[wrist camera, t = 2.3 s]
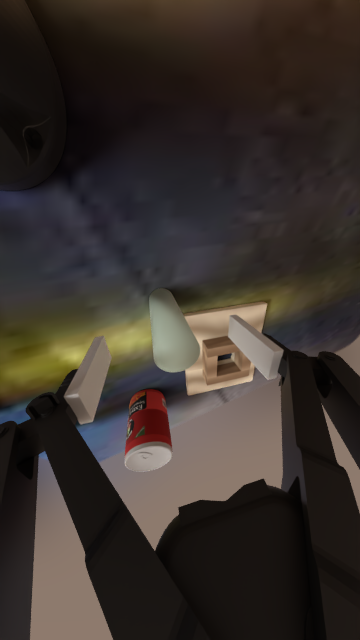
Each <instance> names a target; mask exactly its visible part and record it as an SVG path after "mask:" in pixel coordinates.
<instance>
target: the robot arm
mask: <svg viewBox="0 0 360 640" xmlns="http://www.w3.org/2000/svg"><path fill="white" fill-rule="evenodd" d="M66 131H67V118H66V108H65V101H64V96H63V91H62V87H61V83H60V79H59V76H58V73H57V70H56V67H55V64H54V61H53V59H52V56H51V53H50V51H49V49H48V47H47V44H46V42H45V40H44V38H43V36H42V34H41V32H40V30H39V28H38V26H37V24H36V22H35V20H34V18H33V16H32V14H31V11H30V9H29V7H28V5H27V3H26V1H25V0H0V190H6V191H16V190H24V189H28V188H31V187H34V186H36V185H38V184H40V183H42V182H43V181H45V180H46V179H47V178H48V177H49V176H50V175H51V174H52V173H53V171H54V170H55V169H56V167H57V166H58V164H59V162H60V160H61V157H62V154H63V151H64V147H65V142H66ZM228 337H229V338H230V339H231V340H232V341H233V343H234V344H235V345H236V346H237V347H238V348H239V349H240V350H241V351H242V352H243V354H244V355H245V356H246V357H247V358H248V359H249V360H250V361H251V362H252V363H253V364H254V366H255V367H256V368H257V369H258V370H259V371H260V372H261V373H262V374H263V375H264V376H265V378H266V379H267V380H269V379H273V378H276V377H277V373H279V374H280V375H282V376H281V379H280V382H279V386H280V385H281V412H282V451H283V478H282V485H281V489H279V488H276V487H273V486H269V485H267V484H266V482H265V481H264V479H261V480H258V481H255V482H252V483H249V484H246V485H244V486H243V487H241V489H239V490H238V491H237V492H236V493H235V494H233V495H232V496H231V497H230V498H229V499H228V500H226V501H209V500H199V501H196V502H193V503H190V504H187V505H184V506H181V507H179V515H178V516H177V517H175V518H174V519H173V520H172V522H171V523H170V524H169V525H168V527H167V528H166V529H165V531H164V533H163V535H162V536H161V538H160V540H159V543H158V545H157V547H156V550H155V551H154V549H153V548H152V546H151V545H150V543H149V542H148V540H147V538H146V537H145V535H144V534H143V532H142V531H141V529H140V527H139V526H138V524H137V523H136V521H135V520H134V518H133V516H132V515H131V513H130V512H129V510H128V509H127V507H126V505H125V504H124V503H123V501H122V499H121V498H120V496H119V494H118V493H117V491H116V490H115V488H114V487H113V485H112V483H111V482H110V481H109V479H108V477H107V476H106V474H105V472H104V471H103V469H102V468H101V466H100V465H99V463H98V461H97V460H96V458H95V457H94V455H93V454H92V452H91V450H90V449H89V447H88V446H87V444H86V442H85V441H84V439H83V438H82V436H81V435H80V433H79V431H78V430H77V428H76V427H75V424H76V421H77V419H78V421H79V423H80V424H84V423H89V422H93V419H94V416H95V412H96V409H97V405H98V402H99V399H100V395H101V392H102V389H103V385H104V382H105V378H106V375H107V372H108V368H109V365H110V362H111V355H110V352H109V350H108V347H107V344H106V341H105V338H104V336H100V337H95V339H94V341H93V343H92V345H91V346H90V348H89V350H88V352H87V354H86V356H85V358H84V359H83V361H82V363H81V365H80V367H79V369H75V370H72V371H71V372H70V373H69V374H68V375H67V376H66V377H65V379H64V381H63V382H62V384H61V387H59V389H58V391H57V392H56V394H54V393H52V392H48V393H44V394H42V395H40V396H38V397H36V398H35V399H33V400H32V401H31V402H30V403H29V404H28V406H27V407H26V413H27V414H28V415H29V416H30V418H31V419H29V420H27V421H25V422H23V423H21V424H18V425H17V423H16V422H14V421H8V422H5V423H2V424H1V425H0V640H30V622H31V603H32V601H31V600H32V581H33V561H34V539H35V519H36V499H37V477H38V457H39V454H40V453H42V452H44V451H45V452H46V454H47V457H48V459H49V462H50V464H51V467H52V469H53V472H54V474H55V477H56V479H57V482H58V485H59V487H60V490H61V492H62V495H63V497H64V500H65V502H66V505H67V507H68V510H69V512H70V515H71V517H72V520H73V523H74V525H75V528H76V530H77V533H78V535H79V538H80V540H81V543H82V545H83V548H84V551H85V563H86V568H87V571H88V574H89V577H90V579H91V582H92V584H93V587H94V590H95V592H96V595H97V598H98V600H99V603H100V606H101V608H102V611H103V613H104V616H105V619H106V621H107V624H108V627H109V629H110V632H111V635H112V637H113V640H360V513H359V510H358V506H357V503H356V500H355V496H354V493H353V490H352V486H351V483H350V480H349V477H348V474H347V472H346V470H345V469H344V468H343V467H342V466H340V465H339V464H338V463H337V460H336V457H335V453H334V449H333V446H332V442H331V438H330V434H329V431H328V427H327V423H326V419H325V416H324V412H323V408H322V405H323V406H324V408H325V410H326V412H327V414H328V415H329V417H330V419H331V421H332V422H333V424H334V426H335V428H336V429H337V431H338V433H339V434H340V436H341V438H342V439H343V441H344V443H345V445H346V447H347V448H348V450H349V452H350V454H351V455H352V457H353V459H354V460H355V462H356V464H357V466H358V467H359V469H360V376H359V375H358V374H357V373H355V371H354V370H353V369H352V368H351V367H350V366H349V365H348V364H347V363H346V362H345V361H344V360H343V359H342V358H341V357H340V356H338V355H336V354H334V353H331V352H326V351H322V352H319V355H318V357H308V356H307V355H306V354H304V353H302V352H299V351H291V350H289V349H288V348H286V347H285V346H284V345H282V344H281V343H280V342H278V341H277V340H275V339H274V338H273V337H271V336H269V335H267V334H265V333H264V334H262V333H260V332H259V331H258V330H256V329H255V328H254V327H252V326H251V325H250V324H248V323H247V322H246V321H244V320H243V319H242V318H240V317H239V316H238V315H236V314H235V315H230V317H229V331H228ZM321 403H322V404H321Z"/></svg>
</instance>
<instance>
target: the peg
mask: <svg viewBox="0 0 360 640" xmlns="http://www.w3.org/2000/svg"><path fill="white" fill-rule="evenodd" d="M149 307H150V319H151V331H152V343H153V355H154V361H155V363H156V365H157V366H158V367H159V368H160V369H162V370H164V371H167V372H180V371H183V370H186V369H188V368H190V367H191V366H192V365H193V364H194V363H195V362H196V361H197V360H198V358H199V355H200V345H199V343H198V341H197V339H196V337H195V336H194V334H193V332H192V330H191V328H190V326H189V325H188V323H187V321H186V319H185V317H184V315H183V313H182V312H181V310H180V308H179V306H178V304H177V302H176V300H175V299H174V297H173V295H172V293H171V292H170V291H169V290H167V289H164V288H159V289H156V290H154V291H153V292H152V293H151V294H150V297H149Z"/></svg>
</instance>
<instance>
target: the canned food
mask: <svg viewBox="0 0 360 640" xmlns="http://www.w3.org/2000/svg"><path fill="white" fill-rule="evenodd" d="M171 458H172V444H171V436H170V429H169V422H168V415H167V407H166V400H165V398H164V396H163V394H162V393H161V392H160V391H158V390H154V389H145V390H142V391H139V392H137V393H136V394H135V395H134V396H133V397H132V399H131V401H130V406H129V416H128V427H127V437H126V448H125V466H126V467H127V468H128V469H130V470H133V471H137V472H144V471H151V470H154V469H157V468H160V467H162V466H163V465H165V464H166V463H168V462H169V461H170V459H171Z"/></svg>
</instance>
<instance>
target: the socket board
mask: <svg viewBox="0 0 360 640" xmlns="http://www.w3.org/2000/svg"><path fill="white" fill-rule="evenodd" d="M266 307H267V303H265V302H263V301H262V302H256V303H249V304H243V305H236V306H230V307H223V308H217V309H211V310H204V311H198V312H191V313H185V314H183V315H184V317H185V319H186V321H187V323H188V325H189V326H190V328H191V330H192V332H193V334H194V336H195V337H196V339H197V341H198V343H199V345H200V355H199V358H198V360H197V361H196V362H195V363H194V364H193V365H192V366H191V367H190V368H188V369H186V370H185V375H186V388H187V394H188V396H189V395H194V394H198V393H202V392H206V391H211V390H215V389H219V388H223V387H228V386H232V385H236V384H240V383H245V382H249V381H252V379H253V373H254V368H255V366H254V364H253V363H252V362H251V361H250V360H249V359H248V358H247V357H246V356H245V355H244V354H243V352H242V351H241V350H240V349H239V348H238V347H237V346H236V345H235V344H234V343H233V341H232V340H231V339H230V338H229V337H228V331H229V317H230V315H235V314H236V315H238V316H239V317H240V318H242V319H243V320H244V321H246V322H247V323H248V324H250V325H251V326H252V327H254V328H255V329H256V330H258V331H259V332H260V333H262V328H263V323H264V317H265V312H266ZM229 353H232V356H231V358H230V359H225V360H220V361H217V359H218V356H219V355H224V354H229Z"/></svg>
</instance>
